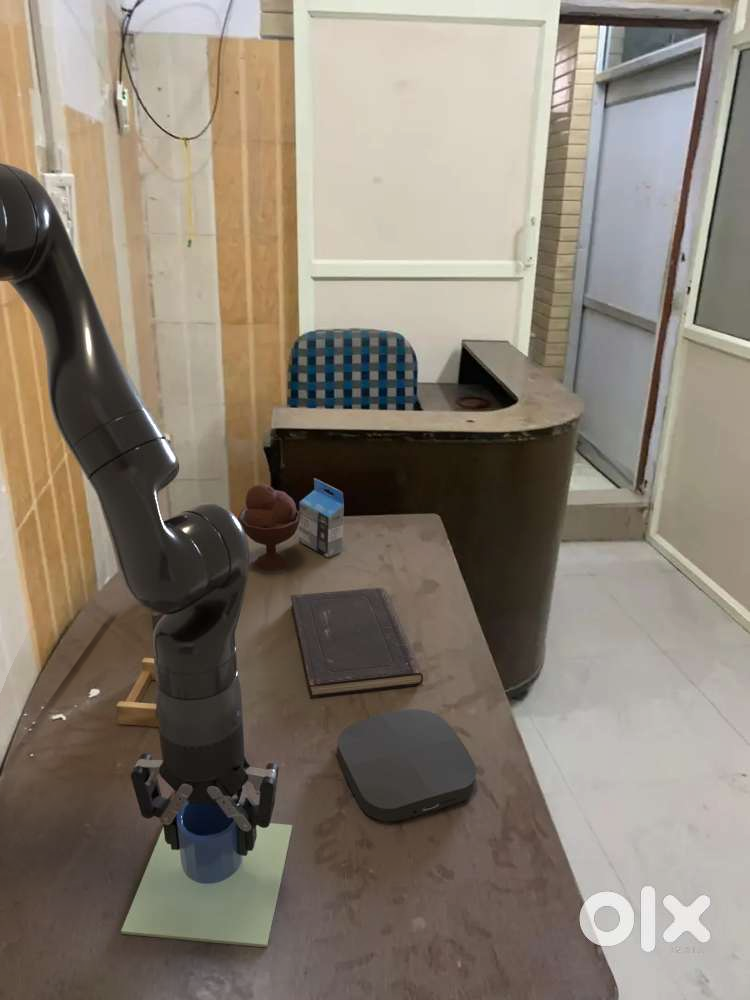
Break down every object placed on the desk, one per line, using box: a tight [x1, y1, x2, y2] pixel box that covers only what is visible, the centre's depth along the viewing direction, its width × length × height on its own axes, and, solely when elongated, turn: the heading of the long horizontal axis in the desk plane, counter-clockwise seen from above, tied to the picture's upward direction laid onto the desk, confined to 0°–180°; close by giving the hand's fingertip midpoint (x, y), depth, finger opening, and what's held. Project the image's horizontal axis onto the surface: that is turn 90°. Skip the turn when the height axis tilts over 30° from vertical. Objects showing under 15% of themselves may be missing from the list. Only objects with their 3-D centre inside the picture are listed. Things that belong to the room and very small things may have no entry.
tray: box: [115, 657, 159, 728], centre depth 102 cm, size 12×10×3 cm
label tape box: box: [298, 477, 345, 558], centre depth 141 cm, size 9×4×12 cm, turn 43°
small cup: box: [176, 800, 244, 884], centre depth 76 cm, size 6×6×6 cm
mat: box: [120, 822, 293, 948], centre depth 78 cm, size 14×14×1 cm
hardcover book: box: [290, 587, 424, 699], centre depth 115 cm, size 16×23×2 cm
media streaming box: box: [336, 708, 477, 822], centre depth 92 cm, size 15×15×3 cm
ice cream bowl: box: [237, 483, 301, 571], centre depth 134 cm, size 11×11×15 cm
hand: (211, 845), depth 76 cm, fingers closed on small cup, 6 cm apart
